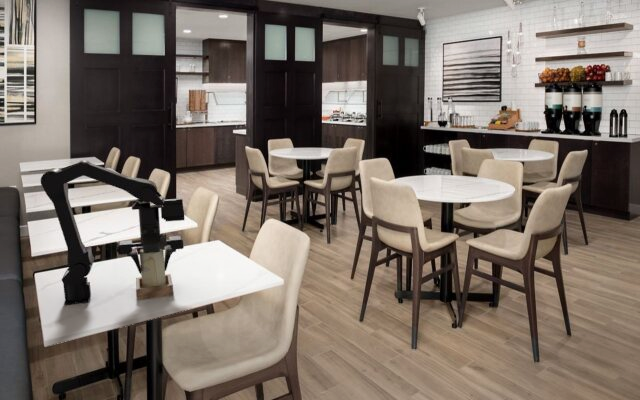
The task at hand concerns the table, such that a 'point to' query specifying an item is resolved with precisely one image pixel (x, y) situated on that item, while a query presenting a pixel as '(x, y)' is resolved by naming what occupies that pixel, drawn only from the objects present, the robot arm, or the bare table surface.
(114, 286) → the table surface
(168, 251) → the robot arm
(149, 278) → the skincare box
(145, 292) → the box
